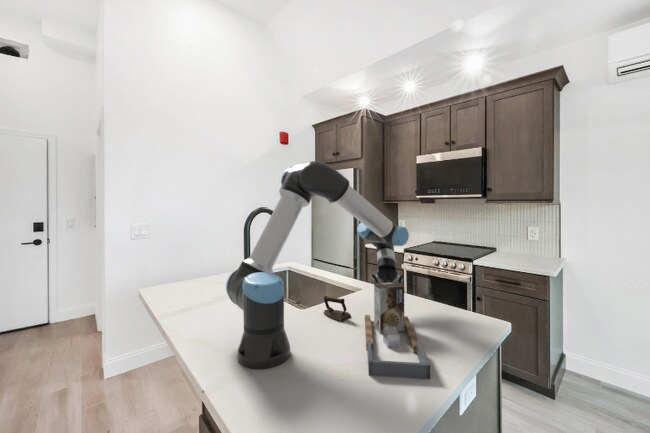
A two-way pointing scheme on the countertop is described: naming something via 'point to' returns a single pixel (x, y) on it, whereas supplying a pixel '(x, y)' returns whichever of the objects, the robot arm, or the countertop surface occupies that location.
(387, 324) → the chip
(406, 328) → the slot rails
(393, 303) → the cookie box
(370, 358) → the tray
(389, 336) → the chip
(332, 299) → the clothes iron
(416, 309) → the countertop surface
